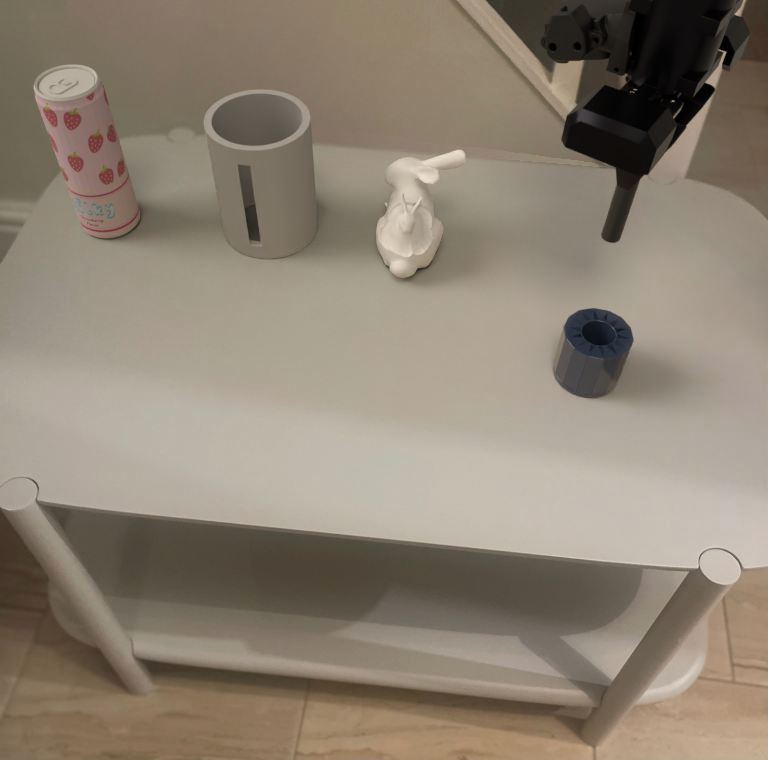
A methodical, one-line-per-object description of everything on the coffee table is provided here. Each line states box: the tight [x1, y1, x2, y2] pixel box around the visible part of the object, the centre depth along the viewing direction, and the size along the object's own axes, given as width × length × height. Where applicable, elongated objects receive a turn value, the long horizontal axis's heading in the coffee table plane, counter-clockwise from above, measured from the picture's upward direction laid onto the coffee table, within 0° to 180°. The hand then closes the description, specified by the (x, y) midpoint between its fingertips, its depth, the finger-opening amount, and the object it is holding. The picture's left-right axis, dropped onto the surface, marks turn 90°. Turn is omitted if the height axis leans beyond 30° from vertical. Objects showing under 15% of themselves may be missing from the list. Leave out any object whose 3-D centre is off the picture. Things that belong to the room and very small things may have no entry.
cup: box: [203, 88, 319, 260], centre depth 73 cm, size 9×9×12 cm
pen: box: [600, 179, 641, 244], centre depth 62 cm, size 2×2×9 cm
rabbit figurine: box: [375, 149, 467, 279], centre depth 72 cm, size 12×8×10 cm, turn 173°
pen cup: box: [552, 307, 635, 399], centre depth 65 cm, size 5×6×5 cm
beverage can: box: [33, 63, 141, 239], centre depth 72 cm, size 6×6×15 cm
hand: (629, 180), depth 62 cm, fingers closed on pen, 2 cm apart
